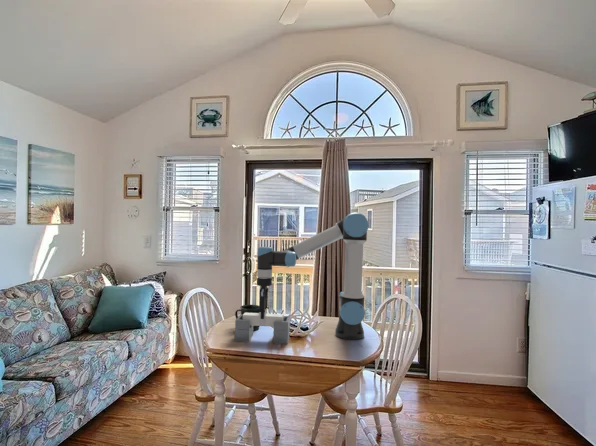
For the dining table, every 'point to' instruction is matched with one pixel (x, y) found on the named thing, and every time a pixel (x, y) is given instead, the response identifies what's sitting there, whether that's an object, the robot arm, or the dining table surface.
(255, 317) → the rail
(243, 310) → the mug
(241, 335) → the brackets
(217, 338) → the dining table surface
